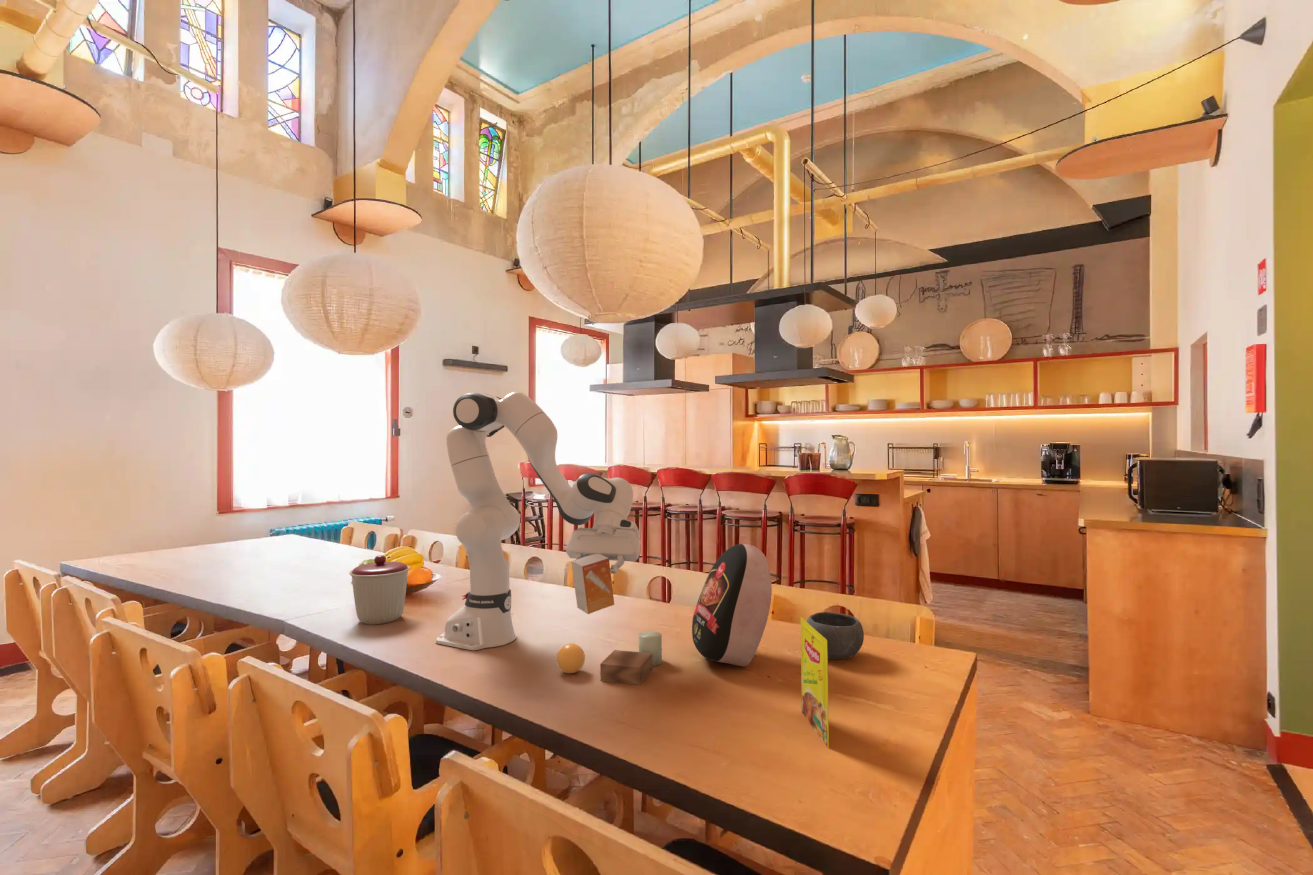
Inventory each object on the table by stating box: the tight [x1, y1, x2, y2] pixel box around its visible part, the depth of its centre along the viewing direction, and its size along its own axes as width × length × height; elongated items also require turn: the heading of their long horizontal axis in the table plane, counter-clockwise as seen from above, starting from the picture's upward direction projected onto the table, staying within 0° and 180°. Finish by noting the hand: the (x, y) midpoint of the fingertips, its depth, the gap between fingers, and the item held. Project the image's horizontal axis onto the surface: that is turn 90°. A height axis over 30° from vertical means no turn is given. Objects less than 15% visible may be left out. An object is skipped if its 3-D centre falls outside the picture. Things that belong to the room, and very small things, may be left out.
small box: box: [571, 554, 615, 615], centre depth 158 cm, size 8×6×13 cm
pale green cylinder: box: [638, 630, 663, 667], centre depth 157 cm, size 6×6×7 cm
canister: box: [348, 554, 411, 625], centre depth 198 cm, size 18×18×21 cm
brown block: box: [599, 649, 653, 686], centre depth 149 cm, size 10×10×4 cm
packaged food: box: [691, 543, 773, 667], centre depth 159 cm, size 22×20×30 cm
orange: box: [556, 642, 586, 674], centre depth 151 cm, size 7×7×7 cm
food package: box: [800, 616, 830, 749], centre depth 120 cm, size 15×1×20 cm, turn 5°
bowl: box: [806, 611, 865, 660], centre depth 160 cm, size 15×15×10 cm
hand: (595, 571), depth 159 cm, fingers closed on small box, 8 cm apart
